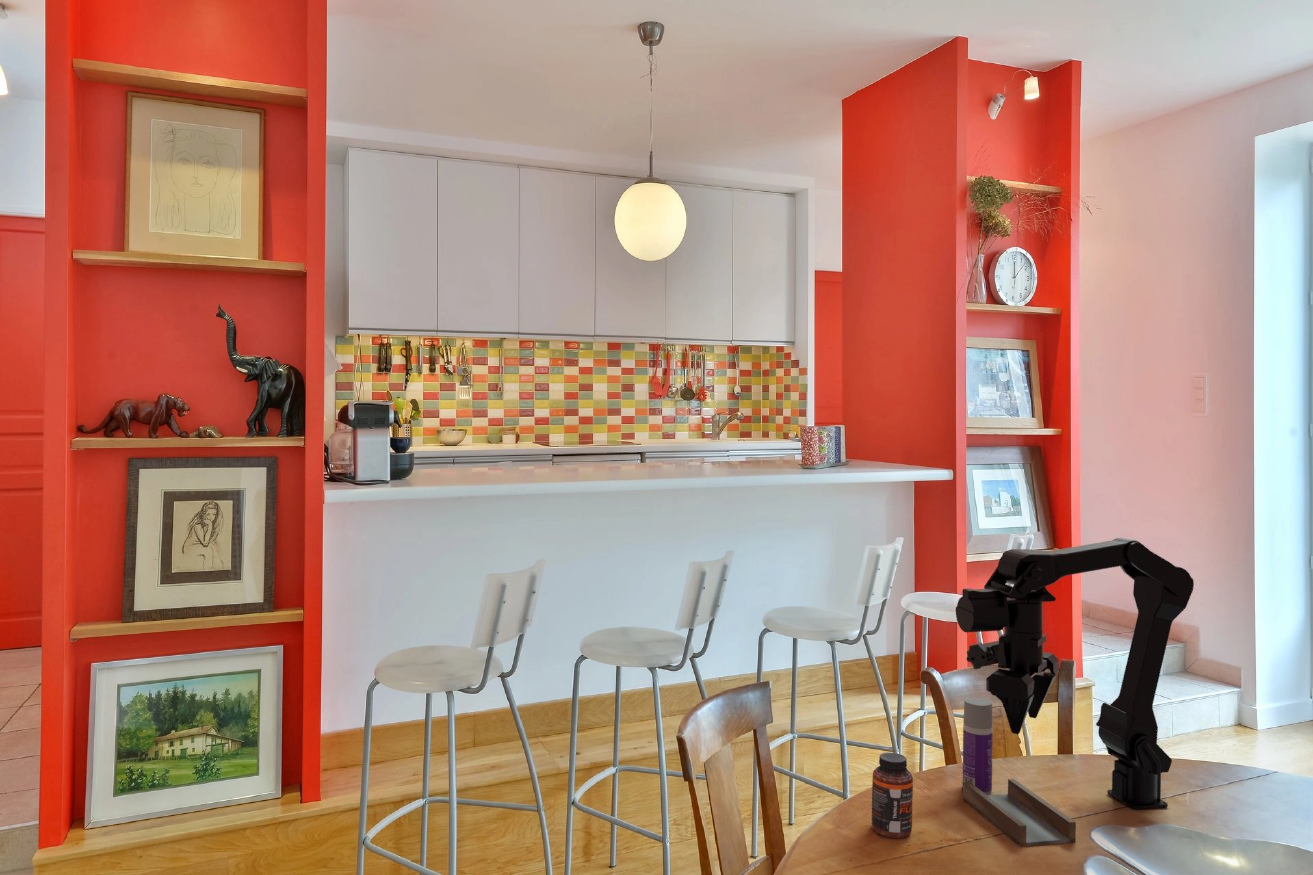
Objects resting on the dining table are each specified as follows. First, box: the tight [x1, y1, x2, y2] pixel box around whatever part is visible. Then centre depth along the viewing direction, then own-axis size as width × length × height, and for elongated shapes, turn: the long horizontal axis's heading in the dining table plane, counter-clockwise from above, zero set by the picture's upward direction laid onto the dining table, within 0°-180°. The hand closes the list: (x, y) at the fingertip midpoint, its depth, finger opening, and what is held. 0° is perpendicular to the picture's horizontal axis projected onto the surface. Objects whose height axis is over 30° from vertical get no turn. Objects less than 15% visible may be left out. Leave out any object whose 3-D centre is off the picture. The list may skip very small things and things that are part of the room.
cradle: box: [962, 778, 1077, 847], centre depth 136 cm, size 9×16×3 cm, turn 10°
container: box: [962, 697, 994, 795], centre depth 147 cm, size 5×5×15 cm
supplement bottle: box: [871, 752, 914, 839], centre depth 131 cm, size 6×6×11 cm
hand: (1024, 725), depth 140 cm, fingers open, 9 cm apart
